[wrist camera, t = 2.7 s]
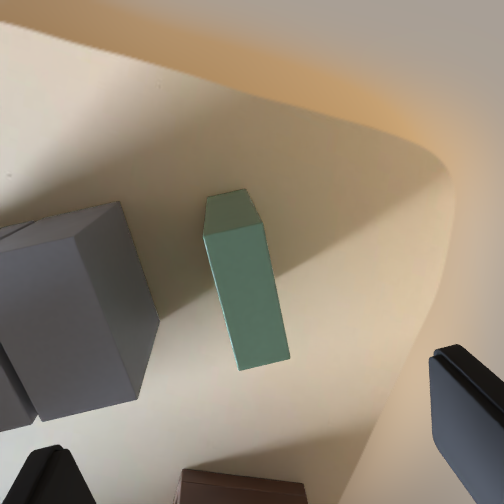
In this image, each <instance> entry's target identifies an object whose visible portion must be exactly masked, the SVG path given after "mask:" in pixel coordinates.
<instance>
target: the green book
mask: <svg viewBox="0 0 504 504" xmlns="http://www.w3.org/2000/svg"><path fill="white" fill-rule="evenodd" d="M203 240H204V244H205V248H206V251H207V255H208V259H209V262H210V266H211V270H212V274H213V277H214V281H215V285H216V289H217V292H218V296H219V300H220V304H221V307H222V311H223V315H224V319H225V322H226V326H227V330H228V334H229V337H230V341H231V345H232V349H233V352H234V356H235V360H236V364H237V367H238V370H239V371H241V370H245V369H250V368H254V367H258V366H262V365H267V364H271V363H275V362H279V361H283V360H288V359H290V352H289V348H288V343H287V338H286V333H285V328H284V323H283V318H282V313H281V309H280V304H279V299H278V294H277V289H276V284H275V279H274V274H273V269H272V265H271V260H270V255H269V250H268V245H267V240H266V235H265V230H264V225H263V222H262V220H261V218H260V216H259V214H258V212H257V210H256V208H255V206H254V204H253V202H252V200H251V198H250V196H249V194H248V192H247V190H246V189H242V190H238V191H233V192H229V193H224V194H220V195H216V196H211V197H208V198H207V205H206V213H205V222H204V231H203Z"/></svg>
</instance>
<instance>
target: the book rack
mask: <svg viewBox="0 0 504 504" xmlns="http://www.w3.org/2000/svg"><path fill="white" fill-rule="evenodd" d="M173 504H308V501H307V497H306V492H305V488H304V484H302V483H294V482H285V481H277V480H269V479H261V478H253V477H245V476H237V475H229V474H220V473H212V472H204V471H196V470H188V469H182V472H181V476H180V479H179V483H178V486H177V490H176V493H175V497H174V500H173Z"/></svg>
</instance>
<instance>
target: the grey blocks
mask: <svg viewBox="0 0 504 504" xmlns="http://www.w3.org/2000/svg"><path fill="white" fill-rule="evenodd" d="M159 323H160V320H159V317H158V314H157V311H156V308H155V305H154V303H153V300H152V297H151V294H150V291H149V288H148V285H147V282H146V279H145V276H144V273H143V270H142V267H141V264H140V261H139V258H138V255H137V252H136V249H135V246H134V243H133V240H132V237H131V234H130V231H129V228H128V225H127V222H126V220H125V217H124V214H123V211H122V208H121V205H120V202H119V201H117V202H113V203H109V204H104V205H100V206H95V207H91V208H86V209H82V210H77V211H73V212H69V213H64V214H60V215H55V216H51V217H46V218H42V219H40V220H39V221H37V222H34V221H29V222H24V223H20V224H15V225H11V226H6V227H2V228H0V432H2V431H6V430H11V429H15V428H19V427H23V426H27V425H31V424H32V423H33V421H34V420H35V418H36V417H37V415H39V417H40V419H41V421H42V422H45V421H49V420H53V419H57V418H62V417H66V416H70V415H74V414H78V413H83V412H87V411H91V410H95V409H99V408H104V407H108V406H112V405H116V404H120V403H125V402H129V401H133V400H137V399H138V396H139V393H140V389H141V386H142V382H143V379H144V375H145V372H146V368H147V365H148V361H149V358H150V354H151V351H152V347H153V344H154V340H155V337H156V333H157V330H158V326H159Z"/></svg>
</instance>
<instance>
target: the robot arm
mask: <svg viewBox="0 0 504 504" xmlns="http://www.w3.org/2000/svg"><path fill="white" fill-rule="evenodd" d="M429 377H430V396H431V417H432V434H433V439H434V442H435V445H436V446H437V448H438V450H439V452H440V453H441V454H442V456H443V457H444V459H445V460H446V461H447V463H448V464H449V466H450V467H451V468H452V470H453V471H454V473H455V474H456V475H457V477H458V478H459V480H460V481H461V482H462V484H463V485H464V487H465V488H466V489H467V491H468V492H469V493H470V495H471V496H472V498H473V499H474V500H475V502H476V503H477V504H504V382H503V381H502V380H501V379H500V378H498V377H497V376H496V375H495V374H494V373H493V372H491V371H490V370H489V369H488V368H487V367H486V366H484V365H483V364H482V363H481V362H480V361H479V360H477V359H476V358H475V357H474V356H472V354H470V353H469V352H468V351H467V350H466V349H465V348H463V347H462V346H461V345H458V344H456V345H452V346H448V347H444V348H440V349H436V350H435V351H434V356H433V357H430V358H429ZM2 504H96V502H95V500H94V498H93V496H92V494H91V492H90V490H89V488H88V486H87V484H86V482H85V480H84V478H83V476H82V474H81V472H80V470H79V468H78V466H77V464H76V462H75V460H74V458H73V456H72V454H71V452H70V451H69V450H68V449H63V448H62V446H60V445H53V446H49V447H45V448H41V449H37V450H34V451H33V452H31V453H30V455H29V456H28V458H27V460H26V461H25V463H24V465H23V467H22V469H21V470H20V472H19V474H18V476H17V478H16V480H15V481H14V483H13V485H12V487H11V489H10V490H9V492H8V494H7V496H6V498H5V499H4V501H3V503H2Z"/></svg>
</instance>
